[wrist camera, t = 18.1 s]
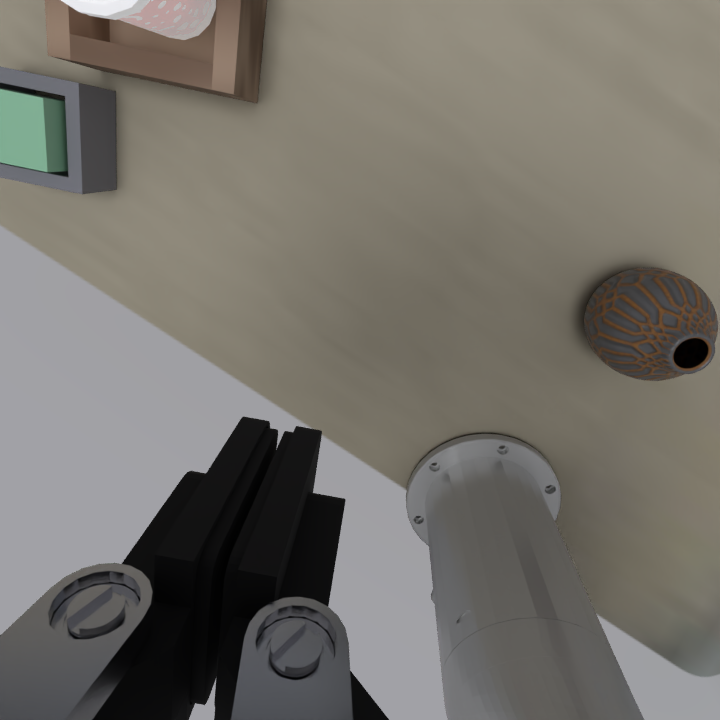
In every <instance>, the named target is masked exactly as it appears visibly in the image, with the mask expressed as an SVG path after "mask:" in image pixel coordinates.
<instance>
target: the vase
mask: <svg viewBox="0 0 720 720" xmlns="http://www.w3.org/2000/svg"><path fill="white" fill-rule="evenodd" d="M584 326H585V332H586V336H587V339H588V342H589V344H590V346H591V347H592V349H593V350H594V352H595V353H596V354H597V356H598V357H599V358H600V359H601V360H602V361H603V362H604V363H605V364H607V365H608V366H609V367H611V368H612V369H614V370H616V371H617V372H619V373H621V374H624V375H626V376H629V377H633V378H636V379H641V380H650V381H659V380H666V379H671V378H675V377H678V376H681V375H683V374H691V373H695V372H698V371H700V370H702V369H703V368H705V367H706V366H707V365H708V364H709V363H710V362H711V360H712V358H713V356H714V353H715V345H714V343H715V340H716V337H717V332H718V320H717V315H716V312H715V309H714V306H713V304H712V302H711V301H710V299H709V298H708V296H707V295H706V294H705V292H704V291H703V290H702V289H701V288H700V287H699V286H698V285H697V284H695V283H694V282H693V281H691V280H690V279H688V278H686V277H684V276H682V275H680V274H678V273H675V272H672V271H668V270H664V269H660V268H637V269H632V270H627V271H624V272H621V273H619V274H617V275H615V276H613V277H611V278H609V279H608V280H606V281H605V282H604V283H603V284H602V285H600V286H599V287H598V288H597V290H596V291H595V292H594V293H593V295H592V296H591V298H590V300H589V302H588V305H587V308H586V311H585V317H584Z"/></svg>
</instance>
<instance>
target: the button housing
mask: <svg viewBox="0 0 720 720" xmlns="http://www.w3.org/2000/svg"><path fill="white" fill-rule="evenodd" d="M0 88H3V89H9V90H15V91H21V92H27V93H33V94H35V90H39V91H44V92H48V93H53V94H58V95H63V96H65V108H66V130H67V153H68V171H60V172H44V171H39V170H34V169H29V168H25V167H20V166H15V165H10V164H5V163H0V177H1V178H6V179H11V180H16V181H21V182H25V183H30V184H35V185H40V186H45V187H50V188H55V189H60V190H65V191H70V192H74V193H79V194H87V193H94V192H102V191H110V190H116V91H112V90H107V89H103V88H99V87H94V86H90V85H85V84H81V83H76V82H72V81H67V80H62V79H57V78H52V77H48V76H43V75H38V74H33V73H28V72H24V71H19V70H14V69H9V68H4V67H0Z"/></svg>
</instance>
